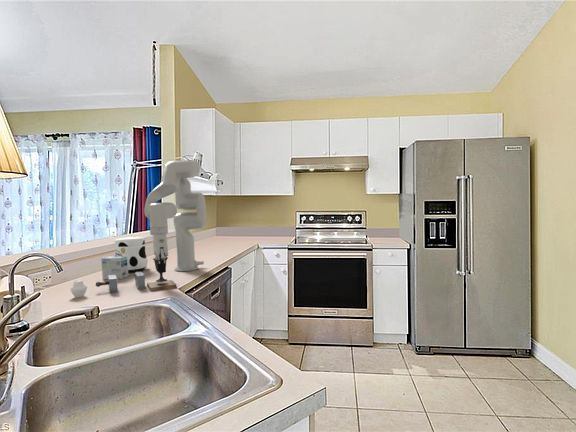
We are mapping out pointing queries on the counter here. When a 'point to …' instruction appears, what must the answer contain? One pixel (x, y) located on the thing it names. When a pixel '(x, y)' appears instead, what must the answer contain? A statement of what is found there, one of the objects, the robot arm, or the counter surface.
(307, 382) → the counter surface
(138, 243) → the milk container
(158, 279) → the sundae
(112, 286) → the vise
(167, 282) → the walnut board
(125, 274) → the light bulb box
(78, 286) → the white faceted knobby ball
